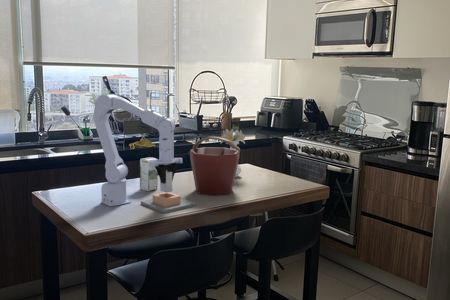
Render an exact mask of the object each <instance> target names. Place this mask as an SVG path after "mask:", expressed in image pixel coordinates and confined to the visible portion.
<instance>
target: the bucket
mask: <svg viewBox="0 0 450 300" xmlns="http://www.w3.org/2000/svg"><path fill="white" fill-rule="evenodd" d="M209 139H213V140H214V139H215V140H218V141H223V142H224V143H225V144H226V143H228V144H227V145H229V146H231V147H232V148H234V149H236V150H234V149H230V147H229V148H228V147H211V146H210V147H208V146H207V147H205V146H204V147H198V146H199V145H200V144H201V143H203V142H204V141H206V140H209ZM223 142H222V143H223ZM240 153H241V148H240V147H239V146H238V145H235V144H234V143H233V142H232V141H230V140H227V139H224V138H221V137H220V136H206V137H204V138H203V137H202V139H199V140H197V141H195V143H194V144H193V145H192V149H190V150H189V160H190V165H191V170H192V175H193V180H194V181H193V182H194V185H195V190H196V192H197V193H198V194H199V195H205V196H210V197H211V196H212V197H218V196H226V195H231V193H232V192H233V188H234V183H235V180H236V179H235V178H236V177H235V175H236V170H237V166H238V165H239V159H240Z"/></svg>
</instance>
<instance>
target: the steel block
mask: <svg viewBox="0 0 450 300" xmlns="http://www.w3.org/2000/svg"><path fill="white" fill-rule="evenodd" d="M159 182H160V183H159V187H160V188H159V189H160V192H162V193H164V192H166V193H167V192H170V193H173V181H172V172H171V171H167V170H166V180H165V184H163V183H161V181H160V180H159Z"/></svg>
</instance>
